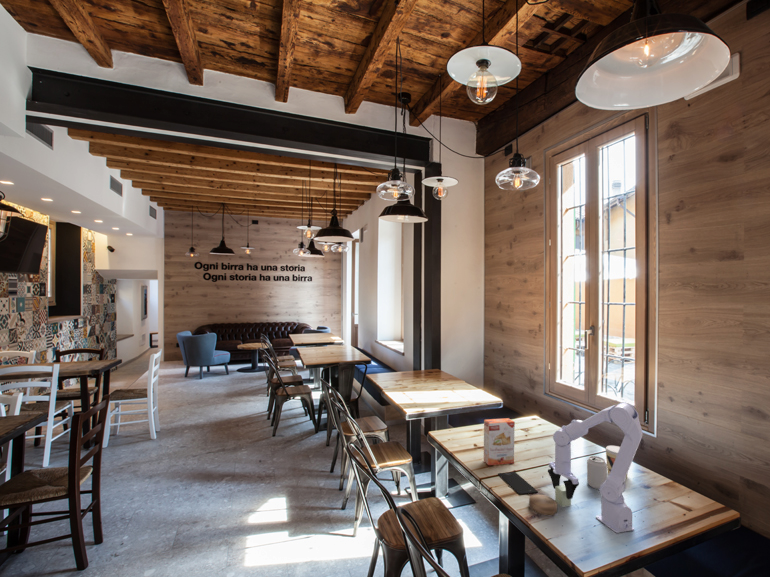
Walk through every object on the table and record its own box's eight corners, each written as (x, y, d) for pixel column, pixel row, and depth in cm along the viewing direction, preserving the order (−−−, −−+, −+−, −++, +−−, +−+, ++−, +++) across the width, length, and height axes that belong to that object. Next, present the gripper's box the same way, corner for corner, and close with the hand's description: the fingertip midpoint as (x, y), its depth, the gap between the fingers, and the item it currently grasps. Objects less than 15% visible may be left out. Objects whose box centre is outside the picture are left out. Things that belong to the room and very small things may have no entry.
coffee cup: (603, 475, 170) (603, 449, 170) (608, 468, 177) (608, 443, 177) (627, 482, 164) (627, 455, 164) (631, 475, 171) (631, 449, 171)
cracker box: (488, 466, 178) (489, 423, 179) (483, 460, 184) (483, 419, 185) (514, 463, 181) (515, 421, 182) (508, 458, 187) (508, 417, 188)
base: (562, 513, 140) (562, 506, 140) (540, 516, 138) (540, 510, 138) (545, 499, 150) (545, 492, 150) (524, 502, 148) (524, 495, 148)
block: (570, 505, 146) (570, 490, 146) (562, 506, 145) (562, 491, 145) (563, 499, 150) (563, 485, 150) (555, 501, 149) (555, 486, 149)
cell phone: (514, 473, 172) (514, 471, 172) (538, 493, 155) (538, 491, 155) (497, 475, 171) (497, 473, 171) (519, 496, 153) (519, 493, 153)
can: (590, 479, 166) (590, 453, 166) (609, 486, 161) (609, 458, 161) (584, 485, 161) (584, 458, 161) (604, 492, 155) (604, 464, 156)
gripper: (542, 452, 154) (542, 485, 154) (567, 468, 140) (567, 504, 139) (557, 451, 155) (556, 483, 155) (582, 466, 141) (582, 502, 141)
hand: (562, 493), depth 147 cm, fingers open, 7 cm apart
